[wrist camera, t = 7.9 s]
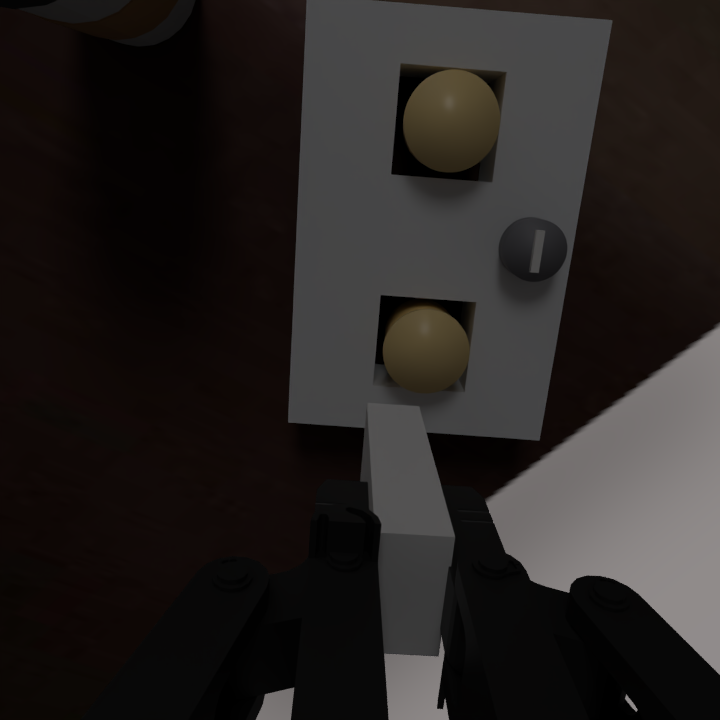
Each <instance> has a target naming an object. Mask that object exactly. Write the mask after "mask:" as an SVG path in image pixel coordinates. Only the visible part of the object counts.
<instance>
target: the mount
mask: <svg viewBox="0 0 720 720" xmlns="http://www.w3.org/2000/svg"><path fill="white" fill-rule="evenodd" d="M611 26H612V20H602V19H590V18H578V17H566V16H554V15H542V14H530V13H518V12H506V11H493V10H481V9H469V8H457V7H445V6H433V5H421V4H409V3H397V2H385V1H373V0H307V8H306V31H305V53H304V76H303V98H302V121H301V143H300V166H299V188H298V211H297V233H296V256H295V279H294V301H293V324H292V346H291V369H290V391H289V414H288V422H289V423H303V424H317V425H331V426H345V427H359V428H365V420H366V408H367V403H377V404H392V405H407V406H419V408H420V412H421V415H422V419H423V422H424V426H425V430H426V432H429V433H443V434H457V435H471V436H485V437H498V438H512V439H526V440H540V434H541V428H542V423H543V417H544V411H545V405H546V400H547V394H548V388H549V382H550V377H551V371H552V365H553V359H554V354H555V348H556V342H557V336H558V331H559V325H560V319H561V313H562V308H563V302H564V296H565V290H566V285H567V279H568V273H569V267H570V262H571V256H572V250H573V244H574V239H575V233H576V227H577V221H578V215H579V210H580V204H581V198H582V192H583V187H584V181H585V175H586V169H587V164H588V158H589V152H590V146H591V141H592V135H593V129H594V123H595V118H596V112H597V106H598V100H599V95H600V89H601V83H602V77H603V72H604V66H605V60H606V54H607V49H608V43H609V37H610V31H611ZM451 69H457V70H464V71H467V72H470V73H473V74H475V75H477V76H478V77H480V78H481V79H482V80H483V81H485V82H486V83H490V88H491V90H492V91H493V93H494V95H495V97H496V99H497V102H498V105H499V110H500V127H499V133H498V136H497V139H496V141H495V143H494V145H493V147H492V148H491V150H490V152H489V153H488V154H487V155H486V156H485V157H484V158H483V159H482V160H481V161H480V169H479V177H478V181H468V180H455V179H442V178H429V177H417V176H404V175H391V169H392V158H393V146H394V134H395V123H396V111H397V99H398V88H399V76H405V77H417V78H428V77H429V76H431V75H433V74H435V73H438V72H441V71H444V70H451ZM381 295H387V296H401V297H414V298H427V299H440V300H454V301H463V305H462V313H461V321H460V325H461V326H462V328H463V329H464V331H465V333H466V335H467V338H468V341H469V347H470V355H469V361H468V364H467V367H466V369H465V371H464V372H463V374H462V375H461V377H460V378H459V379H458V380H457V381H456V382H455V383H454V384H452V385H451V386H449V387H448V388H446V389H444V390H441V391H439V392H435V393H416V392H412V391H409V390H407V389H405V388H403V387H401V386H400V385H399V384H397V383H396V382H395V381H394V380H393V379H392V377H391V376H390V375H389V373H388V371H387V369H386V367H385V365H381V364H375V356H376V344H377V332H378V321H379V309H380V297H381Z"/></svg>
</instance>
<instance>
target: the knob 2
mask: <svg viewBox="0 0 720 720" xmlns="http://www.w3.org/2000/svg"><path fill="white" fill-rule="evenodd" d="M469 355H470V347H469V341H468V338H467V335H466V333H465V331H464V329H463V328H462V326H461V325H460V324H459V323H458V322H457V321H456V319H454V318H453V317H452V316H450V314H449V313H448V311H447V310H446V309H445V308H444V307H443V306H442V305H440V304H439V303H437V302H435V301H432V300H429V299H412V300H409V301H406V302H404V303H402V304H401V305H399V306H398V307H397V308H396V309H394V310H393V312H392V313H391V314H390V316H389V318H388V320H387V322H386V325H385V340H384V344H383V359H384V364H385V367H386V369H387V371H388V373H389V375H390V376H391V377H392V379H393V380H394V381H395V382H396V383H397V384H399V385H400V386H401V387H403V388H405V389H407V390H409V391H412V392H416V393H435V392H439V391H441V390H444V389H446V388H448V387H449V386H451V385H452V384H454V383H455V382H456V381H457V380H458V379H459V378H460V377H461V375H462V374H463V372H464V371H465V369H466V367H467V364H468V361H469Z"/></svg>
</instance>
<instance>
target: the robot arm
mask: <svg viewBox="0 0 720 720" xmlns="http://www.w3.org/2000/svg"><path fill="white" fill-rule="evenodd" d="M441 635H442V640H443V646H444V651H445V654H444V661H443V668H442V675H441V683H440V689H439V697H438V706H437V709H443V705H444V699H445V698H446V703H447V709H448V716H449V720H720V675H719V674H718V673H717V672H716V671H715V670H714V669H713V668H712V667H711V666H710V665H709V664H708V663H707V662H706V661H705V660H704V659H703V658H702V657H701V656H700V655H699V654H698V653H697V652H696V651H695V650H694V649H693V648H692V647H691V646H690V645H689V644H688V643H687V642H686V641H685V640H684V639H683V638H682V637H681V636H680V635H679V634H678V633H677V632H676V631H675V630H674V629H673V628H672V627H671V626H670V625H669V624H668V623H667V622H666V621H665V620H664V619H663V618H662V617H661V616H660V615H659V614H658V613H657V612H656V611H655V610H654V609H653V608H652V607H651V606H650V605H649V604H648V603H647V602H646V601H645V600H644V599H643V598H642V597H641V596H640V595H639V594H637V593H636V592H635V591H633V590H632V589H631V588H629V587H628V586H626V585H624V584H622V583H620V582H618V581H616V580H614V579H610V578H606V577H602V576H584V577H580V578H577V579H576V580H575V581H574V582H573V583H572V584H571V587H570V592H569V593H567V592H563V591H560V590H556V589H552V588H549V587H545V586H542V585H540V584H537V583H534V582H533V581H531V580H530V578H529V576H528V574H527V571H526V570H525V569H524V567H523V566H522V564H521V563H520V562H519V561H518V560H516V559H515V558H513V557H512V556H511V555H508V554H506V553H505V550H504V548H503V545H502V542H501V540H500V537H499V535H498V533H497V530H496V527H495V525H494V523H493V520H492V517H491V515H490V513H489V510H488V507H487V505H486V502H485V500H484V498H483V497H482V496H481V495H480V494H479V493H478V492H476V491H475V490H474V489H473V488H472V487H464V486H449V485H441V484H440V480H439V477H438V473H437V469H436V466H435V462H434V459H433V455H432V451H431V448H430V444H429V441H428V437H427V433H426V430H425V426H424V422H423V419H422V415H421V412H420V408H419V406H407V405H392V404H377V403H367V408H366V420H365V431H364V443H363V455H362V466H361V478H360V481H346V480H330V479H327V480H326V481H325V482H324V483H323V484H322V485H321V486H320V487H319V488H318V489H317V496H316V505H315V513H314V514H313V517H312V519H311V525H310V541H309V556H308V558H307V559H306V560H305V561H304V562H303V563H302V564H301V565H299V566H298V567H296V568H294V569H291V570H289V571H286V572H282V573H277V574H271V575H269V574H268V571H267V569H266V568H265V567H264V566H263V565H262V564H260V563H259V562H258V561H255V560H252V559H249V558H246V557H234V556H232V557H226V558H219V559H217V560H214V561H212V562H210V563H207V564H206V565H205V566H204V567H202V568H201V569H200V570H199V571H198V572H197V573H196V574H195V576H194V577H193V578H192V579H191V581H190V582H189V583H188V584H187V586H186V587H185V588H184V590H183V591H182V592H181V593H180V595H179V596H178V597H177V598H176V600H175V601H174V602H173V603H172V605H171V606H170V607H169V609H168V610H167V611H166V612H165V614H164V615H163V616H162V617H161V619H160V620H159V621H158V622H157V624H156V625H155V626H154V628H153V629H152V630H151V631H150V633H149V634H148V635H147V636H146V638H145V639H144V640H143V641H142V643H141V644H140V645H139V646H138V648H137V649H136V650H135V652H134V653H133V654H132V655H131V657H130V658H129V659H128V660H127V662H126V663H125V664H124V665H123V667H122V668H121V669H120V671H119V672H118V673H117V674H116V676H115V677H114V678H113V679H112V681H111V682H110V683H109V684H108V686H107V687H106V688H105V690H104V691H103V692H102V693H101V695H100V696H99V697H98V698H97V700H96V701H95V702H94V703H93V705H92V706H91V707H90V708H89V710H88V711H87V712H86V714H85V715H84V716H83V717H82V719H81V720H256V717H257V715H258V713H259V711H260V709H261V707H262V704H263V700H264V696H265V694H268V693H272V692H276V691H280V690H285V689H289V688H293V687H294V698H293V706H292V716H291V720H388V706H387V690H386V675H385V661H384V653H386V654H404V655H423V656H438V655H439V648H440V641H441ZM626 694H627V695H628V697H629V698H630V699H631V700H632V702H633V703H634V704H635V706H636V708H637V709H638V711H637V712H636V711H635V710H634V709H633V708H632V707H631V706H630V705H629V704H628V703H627V701H626V700H625V696H626Z"/></svg>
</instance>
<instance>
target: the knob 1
mask: <svg viewBox="0 0 720 720" xmlns="http://www.w3.org/2000/svg"><path fill="white" fill-rule="evenodd" d="M499 127H500V110H499V105H498V102H497V99H496V97H495V95H494V93H493V91H492V90H491V88H490V87H489V86H488V85H487V83H486V82H485V81H483V80H482V79H481V78H480V77H478V76H477V75H475V74H473V73H470V72H467V71H464V70H457V69H451V70H444V71H441V72H438V73H435V74H433V75H431V76H429V77H428V78H426V79H425V80H424V81H423V82H421V83H420V84H419V85H418V87H417V88H416V89H415V90H414V92H413V93H412V95H411V97H410V98H409V100H408V103H407V105H406V108H405V112H404V118H403V136H404V141H405V144H406V146H407V148H408V150H409V152H410V153H411V154H412V156H413V157H414V158H415V159H416V160H418V161H419V162H420V163H422V164H424V165H425V166H427V167H429V168H431V169H433V170H436V171H440V172H459V171H463V170H466V169H468V168H471V167H472V166H474V165H476V164H477V163H479V162H480V161H481V160H482V159H483V158H484V157H485V156H486V155H487V154H488V153H489V152H490V150H491V148H492V147H493V145H494V143H495V141H496V139H497V136H498V133H499Z"/></svg>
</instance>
